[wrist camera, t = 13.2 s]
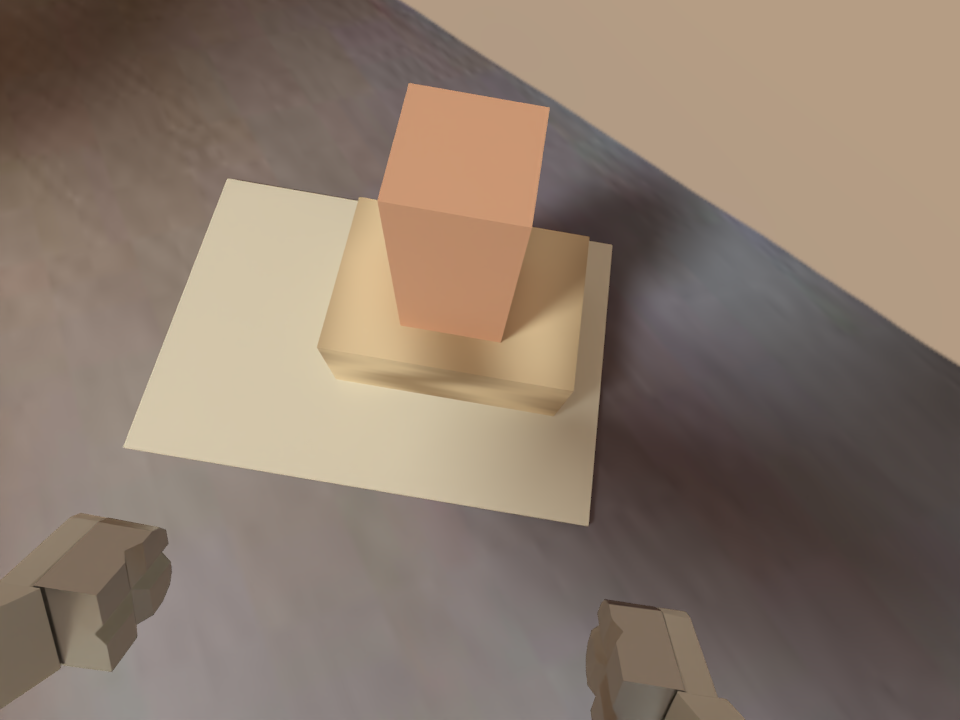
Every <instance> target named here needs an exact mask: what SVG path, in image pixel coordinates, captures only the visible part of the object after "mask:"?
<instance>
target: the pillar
mask: <svg viewBox="0 0 960 720" xmlns="http://www.w3.org/2000/svg"><path fill="white" fill-rule="evenodd" d="M549 109H550V108H549V107H543V106H537V105H531V104H526V103H520V102H514V101H509V100H503V99H497V98H491V97H486V96H480V95H474V94H469V93H463V92H457V91H451V90H446V89H440V88H434V87H429V86H423V85H417V84H411V83H409V85H408V89H407V93H406V96H405V100H404V104H403V107H402V111H401V115H400V119H399V122H398V126H397V130H396V134H395V137H394V141H393V145H392V148H391V152H390V156H389V160H388V163H387V167H386V171H385V175H384V178H383V182H382V186H381V189H380V193H379V197H378V201H377V202H378V207H379V212H380V218H381V223H382V229H383V234H384V239H385V245H386V250H387V256H388V261H389V266H390V272H391V277H392V283H393V288H394V293H395V299H396V304H397V309H398V315H399V320H400V325H401V326H407V327H412V328H418V329H424V330H430V331H436V332H441V333H447V334H453V335H459V336H465V337H471V338H476V339H482V340H488V341H494V342H500V343H501V340H502V336H503V333H504V329H505V325H506V322H507V318H508V314H509V310H510V307H511V303H512V299H513V296H514V292H515V288H516V285H517V281H518V277H519V274H520V270H521V266H522V263H523V259H524V255H525V251H526V248H527V244H528V240H529V237H530V233H531V229H532V224H533V217H534V210H535V204H536V197H537V190H538V183H539V176H540V170H541V163H542V156H543V149H544V143H545V136H546V129H547V122H548V115H549Z"/></svg>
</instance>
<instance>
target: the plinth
mask: <svg viewBox="0 0 960 720" xmlns="http://www.w3.org/2000/svg"><path fill="white" fill-rule="evenodd" d="M377 201H378V200H373V199H368V198H362V197H359V200H358V203H357V207H356V210H355V214H354V217H353V221H352V224H351V228H350V232H349V235H348V239H347V242H346V246H345V249H344V253H343V256H342V260H341V263H340V267H339V271H338V274H337V278H336V281H335V285H334V288H333V292H332V295H331V299H330V303H329V306H328V310H327V313H326V317H325V320H324V324H323V327H322V331H321V334H320V338H319V342H318V345H317V349H318V350H319V352H320V354H321V355H322V357H323V358H324V360H325V362H326V363H327V365H328V367H329V368H330V370H331V372H332V373H333V375H334V377H335V378H336V379H338V380H344V381H350V382H355V383H361V384H367V385H373V386H379V387H385V388H391V389H397V390H402V391H408V392H414V393H420V394H426V395H432V396H438V397H443V398H449V399H455V400H461V401H467V402H473V403H479V404H485V405H490V406H496V407H502V408H508V409H514V410H520V411H526V412H531V413H537V414H543V415H549V416H554V415H555V414H556V413H557V412H558V410H559V409H560V408H561V407H562V405H563V404H564V403H565V402H566V400H567V399H568V398H569V397H570V395H571V394H572V393H573V392H574V384H575V374H576V364H577V354H578V345H579V335H580V325H581V315H582V306H583V296H584V286H585V277H586V267H587V257H588V247H589V238H590V237H588V236H582V235H576V234H570V233H565V232H559V231H553V230H547V229H541V228H536V227H532V229H531V233H530V237H529V240H528V244H527V248H526V251H525V255H524V259H523V263H522V266H521V270H520V274H519V277H518V281H517V285H516V288H515V292H514V296H513V299H512V303H511V307H510V310H509V314H508V318H507V322H506V325H505V329H504V333H503V336H502V340H501V343H500V342H494V341H488V340H482V339H476V338H471V337H465V336H459V335H453V334H447V333H441V332H436V331H430V330H424V329H418V328H412V327H407V326H401V325H400V320H399V315H398V309H397V304H396V299H395V293H394V288H393V283H392V277H391V272H390V266H389V261H388V256H387V250H386V245H385V239H384V234H383V229H382V223H381V218H380V212H379V207H378V202H377Z"/></svg>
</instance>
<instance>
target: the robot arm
mask: <svg viewBox="0 0 960 720" xmlns="http://www.w3.org/2000/svg"><path fill="white" fill-rule="evenodd" d="M168 544H169V543H168V538H167V532H166V530H165V529H162V528H160V527H155V526H150V525H144V524H139V523H134V522H128V521H123V520H118V519H113V518H105V517H100V516H94V515H89V514H84V513H80V514H77V515H75V516H72V517H70V518H69V519H68V520H67V521H66V522H64V523H63V524H62V525H61V526H60V527H59V528H58V529H57V530H56V531H54V532H53V533H52V534H51V535H50V536H49V537H48V538H47V539H46V540H45V541H43V542H42V543H41V544H40V545H39V546H38V547H37V548H36V549H35V550H33V551H32V552H31V553H30V554H29V555H28V556H27V557H26V558H25V559H23V560H22V561H21V562H20V563H19V564H18V565H17V566H16V567H15V568H13V569H12V570H11V571H10V572H9V573H8V574H7V575H6V576H5V577H4V578H2V579H1V580H0V709H1V708H3V707H4V706H6V705H7V704H9V703H10V702H12V701H13V700H15V699H16V698H18V697H19V696H21V695H22V694H24V693H25V692H27V691H28V690H30V689H31V688H33V687H34V686H36V685H37V684H39V683H40V682H41V681H43V680H44V679H46V678H47V677H49V676H50V675H52V674H53V673H55V672H56V671H58V670H59V669H60V668H61V665H63V666H71V667H78V668H86V669H94V670H101V671H109V672H112V671H113V670H114V669H115V667H116V666H117V664H118V663H119V662H120V660H121V659H122V658H123V656H124V655H125V653H126V652H127V651H128V649H129V648H130V647H131V645H132V644H133V642H134V641H135V640H136V638H137V624H139V623H140V622H142V621H144V620H146V619H147V618H149V617H151V616H153V615H154V613H155V612H156V610H157V609H158V608H159V606H160V605H161V603H162V602H163V600H164V597H165V595H166V593H167V590H168V588H169V585H170V581H171V574H172V569H171V562H170V560H169V559H168V558H167V557H166V556H165V555H164V554H163V553H162V551H163V550H164V549H165V547H166V546H167V545H168ZM597 614H598V621H599V626H597V627H596V628H594V629H593V630H591V633H590V637H589V640H588V644H587V652H586V676H587V685H588V687H589V688H590V689H591V691H592V692H593V693H594V695H595V699H594V702H593V705H592V707H591V718H592V720H745V719H744V717H743V716H742V715H741V714H740V713H739V712H738V711H737V710H736V709H735V708H734V707H733V706H732V705H731V703H730V702H729V701H728V700H727V699H722V698H718V696H717V693H716V690H715V687H714V684H713V682H712V679H711V676H710V673H709V670H708V667H707V664H706V661H705V659H704V656H703V653H702V650H701V647H700V644H699V641H698V639H697V636H696V633H695V630H694V627H693V624H692V621H691V618H690V616H689V615H688V614H687V613H686V612H684V611H678V610H671V609H665V608H656V607H653V606H646V605H640V604H633V603H627V602H620V601H613V600H607V599H604V601H603V602H602V603H601V605H600V607H599V610H598V613H597Z"/></svg>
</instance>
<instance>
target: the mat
mask: <svg viewBox="0 0 960 720" xmlns="http://www.w3.org/2000/svg"><path fill="white" fill-rule="evenodd" d="M357 203H358V201H355V200H349V199H344V198H338V197H332V196H326V195H320V194H315V193H309V192H303V191H297V190H291V189H286V188H280V187H274V186H268V185H262V184H257V183H251V182H245V181H239V180H234V179H228V178H227V181H226V183H225V186H224V188H223V191H222V194H221V196H220V199H219V201H218V204H217V207H216V209H215V212H214V214H213V217H212V219H211V222H210V225H209V227H208V230H207V232H206V235H205V237H204V240H203V243H202V245H201V248H200V250H199V253H198V255H197V258H196V261H195V263H194V266H193V268H192V271H191V274H190V276H189V279H188V281H187V284H186V286H185V289H184V292H183V294H182V297H181V299H180V302H179V304H178V307H177V310H176V312H175V315H174V317H173V320H172V322H171V325H170V328H169V330H168V333H167V335H166V338H165V341H164V343H163V346H162V348H161V351H160V353H159V356H158V359H157V361H156V364H155V366H154V369H153V371H152V374H151V377H150V379H149V382H148V384H147V387H146V390H145V392H144V395H143V397H142V400H141V402H140V405H139V408H138V410H137V413H136V415H135V418H134V420H133V423H132V426H131V428H130V431H129V433H128V436H127V438H126V441H125V444H124V446H123V447H124V448H127V449H133V450H139V451H145V452H150V453H156V454H162V455H168V456H174V457H180V458H186V459H192V460H198V461H204V462H210V463H216V464H221V465H227V466H233V467H239V468H245V469H251V470H257V471H263V472H269V473H275V474H281V475H286V476H292V477H298V478H304V479H310V480H316V481H322V482H328V483H334V484H340V485H346V486H351V487H357V488H363V489H369V490H375V491H381V492H387V493H393V494H399V495H405V496H411V497H417V498H422V499H428V500H434V501H440V502H446V503H452V504H458V505H464V506H470V507H476V508H482V509H487V510H493V511H499V512H505V513H511V514H517V515H523V516H529V517H535V518H541V519H547V520H552V521H558V522H564V523H570V524H576V525H582V526H589V515H590V503H591V491H592V480H593V468H594V456H595V444H596V433H597V421H598V409H599V397H600V386H601V374H602V362H603V350H604V339H605V327H606V315H607V303H608V292H609V280H610V268H611V256H612V245H610V244H604V243H599V242H593V241H589V247H588V257H587V267H586V277H585V286H584V296H583V306H582V315H581V325H580V335H579V345H578V354H577V364H576V374H575V384H574V392H573V393H572V394H571V395H570V397H569V398H568V399H567V400H566V402H565V403H564V404H563V405H562V407H561V408H560V409H559V410H558V412H557V413H556V414H555V415H554V416H549V415H543V414H537V413H531V412H526V411H520V410H514V409H508V408H502V407H496V406H490V405H485V404H479V403H473V402H467V401H461V400H455V399H449V398H443V397H438V396H432V395H426V394H420V393H414V392H408V391H402V390H397V389H391V388H385V387H379V386H373V385H367V384H361V383H355V382H350V381H344V380H338V379H336V378H335V377H334V375H333V373H332V372H331V370H330V368H329V367H328V365H327V363H326V362H325V360H324V358H323V357H322V355H321V354H320V352H319V350H318V349H317V345H318V342H319V338H320V334H321V331H322V327H323V324H324V320H325V317H326V313H327V310H328V306H329V303H330V299H331V295H332V292H333V288H334V285H335V281H336V278H337V274H338V271H339V267H340V263H341V260H342V256H343V253H344V249H345V246H346V242H347V239H348V235H349V232H350V228H351V224H352V221H353V217H354V214H355V210H356V207H357Z"/></svg>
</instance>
